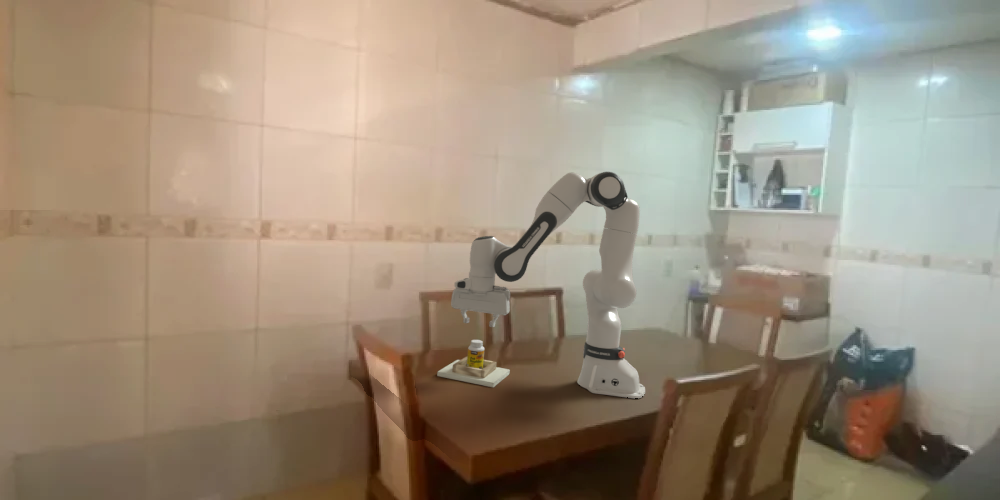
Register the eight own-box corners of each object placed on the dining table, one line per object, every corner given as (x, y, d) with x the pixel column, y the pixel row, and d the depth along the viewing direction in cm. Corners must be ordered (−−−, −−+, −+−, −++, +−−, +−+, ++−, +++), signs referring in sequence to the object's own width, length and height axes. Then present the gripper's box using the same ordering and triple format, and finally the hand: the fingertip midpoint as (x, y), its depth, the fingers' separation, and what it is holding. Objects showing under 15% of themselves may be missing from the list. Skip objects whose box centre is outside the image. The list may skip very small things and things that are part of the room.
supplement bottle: (466, 372, 179) (469, 342, 178) (465, 367, 185) (468, 338, 184) (483, 373, 180) (485, 343, 179) (482, 368, 185) (484, 339, 184)
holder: (509, 373, 186) (510, 362, 186) (493, 387, 171) (494, 375, 171) (457, 363, 193) (458, 352, 193) (437, 375, 178) (438, 364, 178)
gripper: (513, 286, 179) (511, 327, 180) (458, 279, 186) (455, 318, 187) (507, 288, 173) (504, 330, 174) (450, 282, 180) (448, 322, 181)
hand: (479, 324), depth 181 cm, fingers open, 8 cm apart
